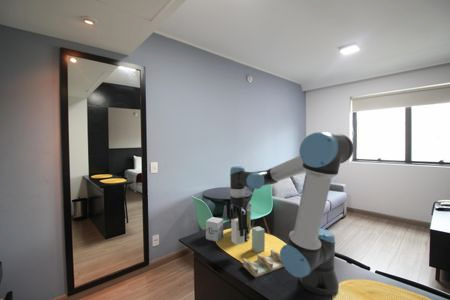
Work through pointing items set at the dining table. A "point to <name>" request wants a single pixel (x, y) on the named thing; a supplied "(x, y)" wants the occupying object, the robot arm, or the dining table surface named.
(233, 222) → the white tall block
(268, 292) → the dining table surface
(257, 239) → the sage plug
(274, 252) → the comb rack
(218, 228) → the ink box
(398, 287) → the dining table surface
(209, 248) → the dining table surface
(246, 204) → the electrical component
